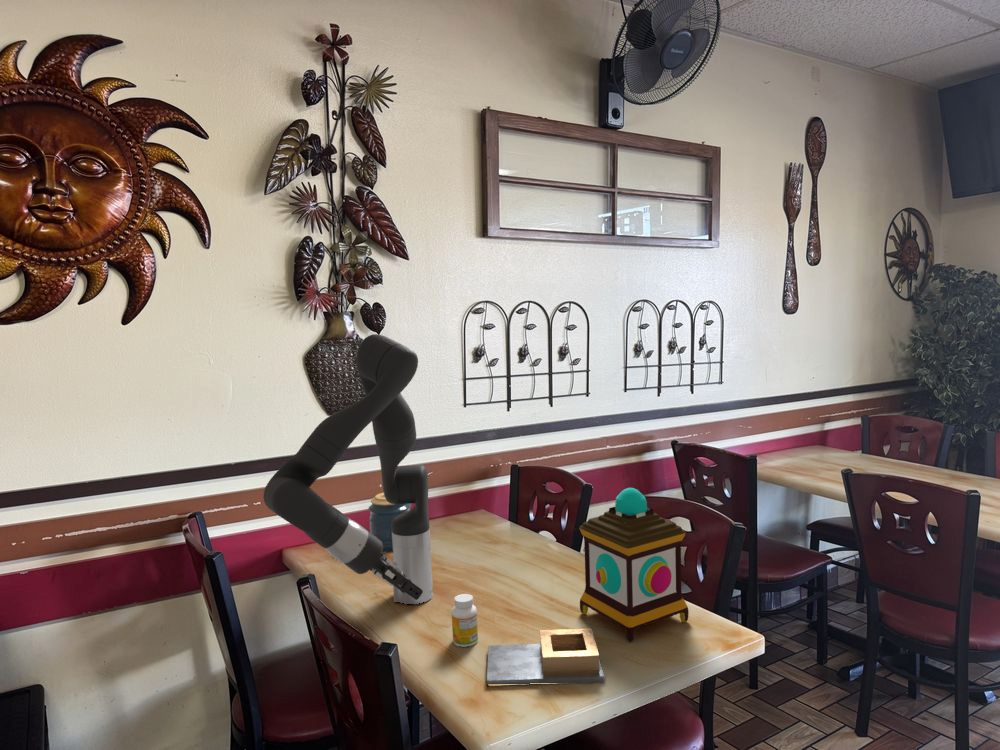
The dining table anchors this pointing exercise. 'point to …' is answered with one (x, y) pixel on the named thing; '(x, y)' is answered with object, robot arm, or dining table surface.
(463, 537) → the dining table surface
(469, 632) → the supplement bottle
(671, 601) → the decorative lantern
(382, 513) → the canister
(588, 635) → the jig
